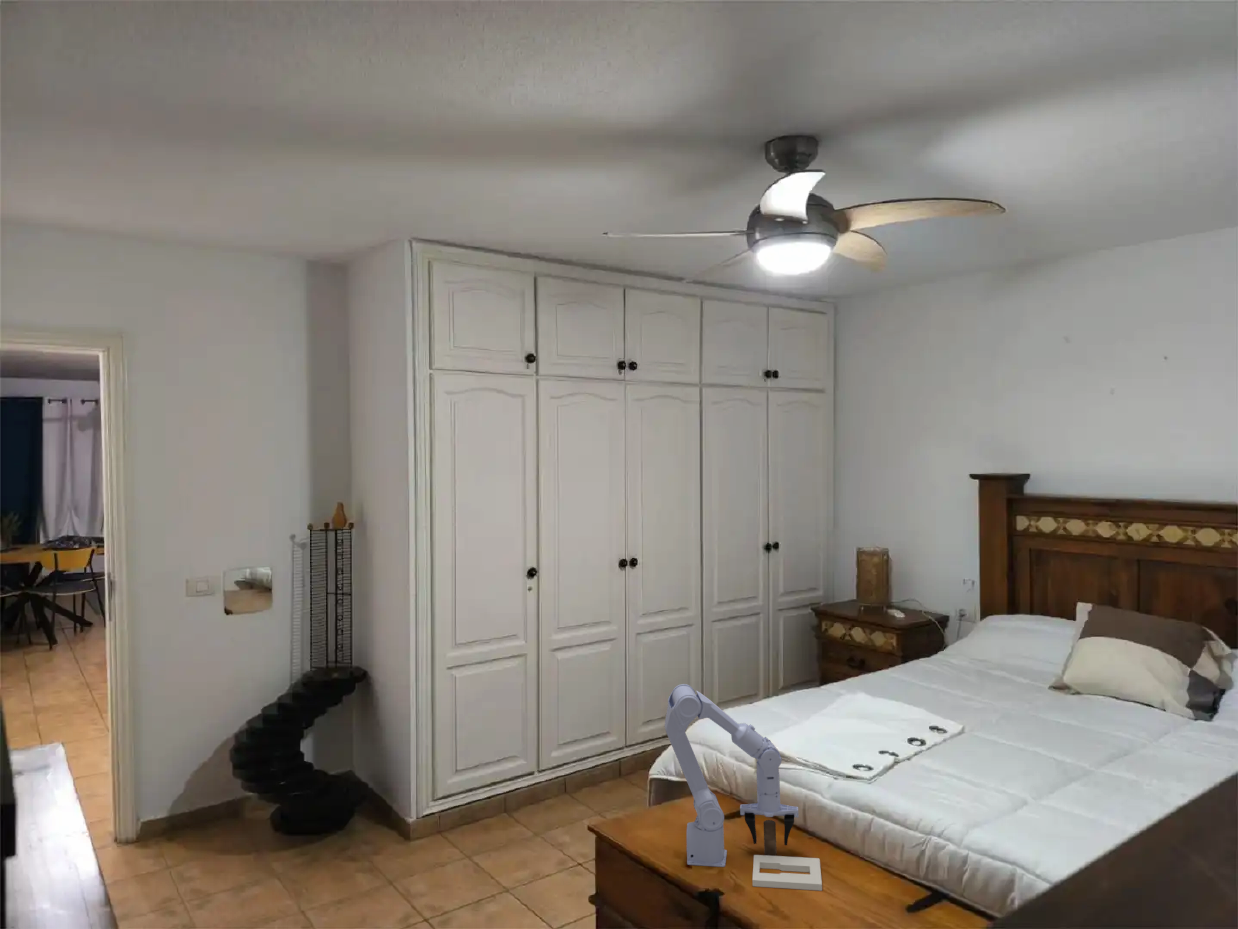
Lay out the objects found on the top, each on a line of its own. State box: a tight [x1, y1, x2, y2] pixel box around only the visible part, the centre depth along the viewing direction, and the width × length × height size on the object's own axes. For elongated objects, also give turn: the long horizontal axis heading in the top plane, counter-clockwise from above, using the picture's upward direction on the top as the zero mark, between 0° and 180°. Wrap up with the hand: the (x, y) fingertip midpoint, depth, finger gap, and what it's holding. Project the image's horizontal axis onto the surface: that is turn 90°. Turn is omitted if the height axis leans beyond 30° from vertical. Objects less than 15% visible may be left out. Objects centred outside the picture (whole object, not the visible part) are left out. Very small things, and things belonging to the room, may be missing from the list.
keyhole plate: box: [752, 854, 823, 892], centre depth 202 cm, size 16×12×2 cm
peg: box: [763, 819, 777, 856], centre depth 213 cm, size 3×3×8 cm
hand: (770, 843), depth 213 cm, fingers open, 7 cm apart
